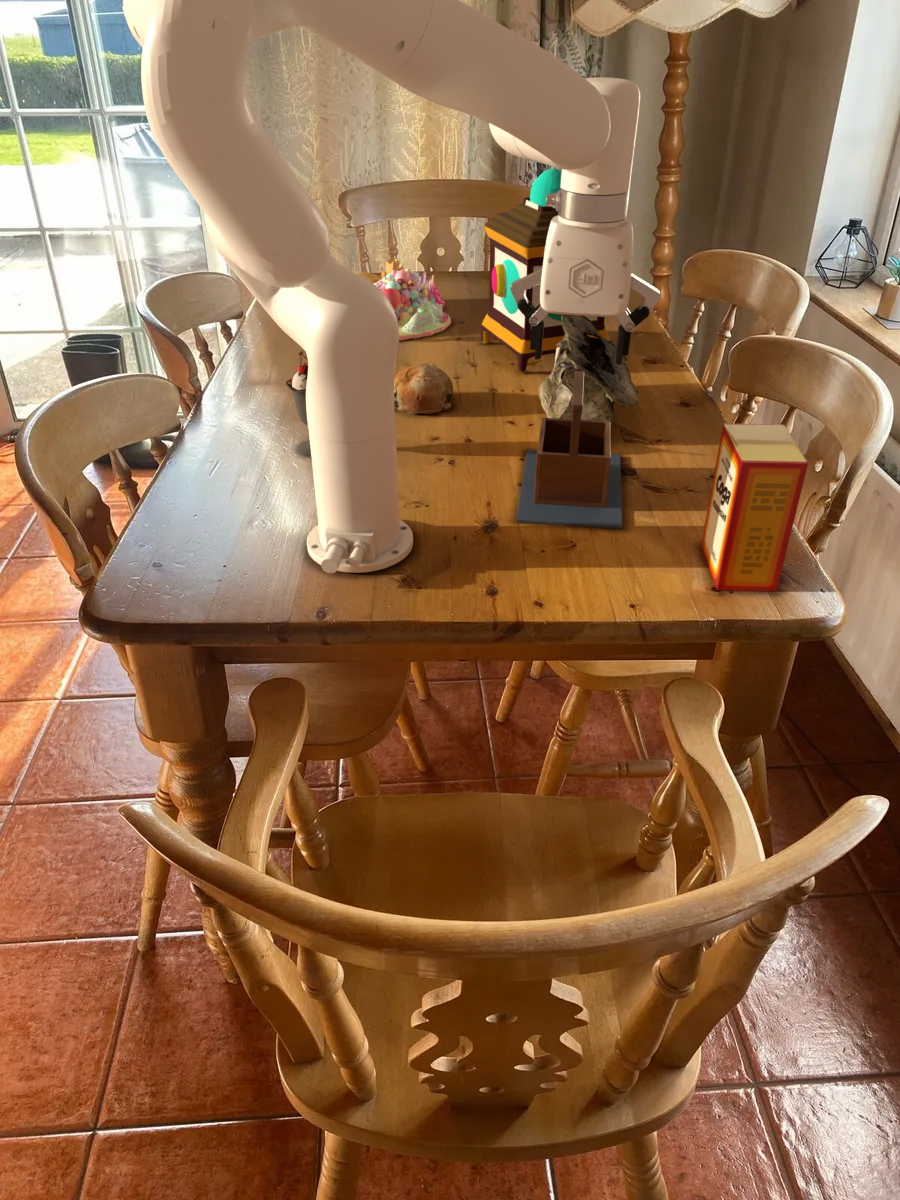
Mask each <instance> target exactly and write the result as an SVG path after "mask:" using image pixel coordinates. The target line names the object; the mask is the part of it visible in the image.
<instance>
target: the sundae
mask: <svg viewBox="0 0 900 1200" xmlns="http://www.w3.org/2000/svg"><path fill="white" fill-rule="evenodd" d="M298 355H299V366H297V368H296V369H297V372H296V373H295V374H294V375H293V377H292V378H290V379H288V380H285V385H286V386H287V388H288V389H289V390H290V391H291V392H292V395H293V399H294V403H295V408H296V411H297V415H298V417H299V420H300V421H301V422H302V423H303V424H304V425H305V426H307V427H308V422H307V411H306V386H307V377H308V358H307V356H305V354H304V352H303V350H301V351H300V352H298ZM302 357H304V359H306V361H305V362H303V363H302V361H303V359H302ZM298 450H299V452H300V453H301V454H302V455H304V456H307V457H311V447H310V441H307V442H304V443H303V444H301V445H300V446H299V449H298Z"/></svg>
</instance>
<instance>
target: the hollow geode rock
mask: <svg viewBox="0 0 900 1200" xmlns="http://www.w3.org/2000/svg"><path fill="white" fill-rule="evenodd" d="M561 317H562V318H561V319H562V322H561V323H562V326H563V329H564V332H565V333H564V335H565V336H564V337H563V340H562V341H560V342H559V343H558V344H557V345H556V346H557V348H556V353H555V356H554V357H555V358H554V364H553V369H552V371H551V373H550V374H549V376H547V377H546V378H543V379H542V381H541V384H540V385H539V387H538V391H537V393H538V397H539V401H540V406H541V407H542V410H543V411H544V412H545V415H546V418H559V419H572V405H573V391H574V377H575V371H582V372H584V389H583V408H582V415H581V420H597V421H610V423H612V422H613V420H614V418H615V408H614V407H615V402H616V403H618V404H619V406H620V408H623V409H625V408H626V407H628V406H629V408H636V407H637V406H639V405H640V400H639V398H638V397H639V391H638V389H636V386H635V384H634V382H633V381H632V375H631V371H630V369H629V367H628V365H627V362H628V356H623V355H622V363H621V365H618V364H617V363H615V352H616V344H615V343H614V341H612V340H610V341H609V342H608V340H606V339H605V338H603V337H602V335H600V334H599V333H598V330H597V329H596V328H595V324H594V323H593V321H590V320H589V319H588V318H587V317H585V316H583V315H565V314H563V315H562V316H561ZM587 335H591V336H595V337H597V338H594V337H589V336H587Z"/></svg>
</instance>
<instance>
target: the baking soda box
mask: <svg viewBox="0 0 900 1200" xmlns="http://www.w3.org/2000/svg"><path fill="white" fill-rule="evenodd" d="M808 465H809V462H808V461H807V459H806V458H805V456H804V455H803V453H802V451H801V450H800V448H799V447H798V445H797V443H796V441H795V440H794V439H793V437H792V435H791V434H790V432H789V431H788V429H787V427H786V425H785V424H784V423H781V424H780V423H722V429H721V435H720V440H719V445H718V451H717V456H716V462H715V466H714V467H715V468H714V472H713V478H712V479H713V480H712V482H711V488H710V494H709V499H708V504H707V505H708V506H707V511H706V516H705V523H704V527H703V533H702V537H701V538H702V539H701V544H700V546H701V549H702V552H703V555H704V557H705V560H706V564H707V566H708V569H709V572H710V574H711V577H712V580H713V584H714V586H715V588H716V591H734V592H737V591H738V592H777V591H778V587H779V584H780V579H781V577H782V576H781V575H782V572H783V567H784V563H785V559H786V555H787V552H788V547H789V544H790V539H791V535H792V530H793V526H794V523H795V519H796V514H797V512H798V507H799V502H800V498H801V494H802V490H803V486H804V483H805V478H806V474H807V470H808Z"/></svg>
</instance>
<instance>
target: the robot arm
mask: <svg viewBox="0 0 900 1200" xmlns="http://www.w3.org/2000/svg"><path fill="white" fill-rule="evenodd" d="M122 5H123V14H124V18H125V21H126V24H127V26H128V28H129V31H130V33H131V35H132V36H133V38H134V39H135V41H136V42H137V44H138V45H139V46H140V47H141V48H142V52H141V60H140V61H141V62H140V63H141V64H140V78H141V79H140V80H141V92H142V100H143V107H144V111H145V116H146V118H147V121H148V125H149V129H150V131H151V134H152V136H153V138H154V140H155V143H156V144H157V146H158V148H159V150H160V151H161V153H162V155H163V157H164V158H165V160H166V161H167V162H168V164H169V166H170V167H171V168H172V170H173V171H174V172H175V174H176V175H177V177H178V178H179V179H180V181H181V182H182V183H183V185H184V186H185V188H186V189H187V190H188V191H189V193H190V194H191V196H192V198H193V199H194V200H195V201H196V204H198V205H199V207H200V208H201V210H202V211H203V212H204V222H205V227H206V231H207V234H208V236H209V238H210V240H211V243H212V244H213V246H214V247H215V249H216V250H217V252H218V253H219V255H220V256H221V257H222V259H223V260H224V261H225V263H226V264H227V265H228V267H230V269H231V270H232V271H233V273H234V274H235V275H236V276H237V277H238V278H239V280H240V281H241V282H242V284H243V285H244V286H245V287H246V289H247V290H248V291H249V293H250V294H251V295H252V296H253V297H254V298H255V299H256V301H257V302H258V303H259V304H260V305H261V307H262V308H263V309H264V310H265V312H266V313H267V314H268V315H269V316H270V318H271V319H272V321H274V322H275V324H276V325H277V326H278V327H279V328H280V329H281V330H282V331H283V332H284V333H285V334H286V335H287V336H288V337H289V338H290V339H292V340H293V341H294V342H295V343H296V344H298V345H299V347H300V348H302V349H303V350H304V351H305V353H306V358H307V359H308V377H307V386H306V411H307V422H308V426H307V429H308V436H309V442H310V447H311V456H310V457H311V466H312V476H313V487H314V495H315V505H316V506H315V507H316V515H317V524H316V525H315V526H314V527H313V528H312V529H311V530H310V531H309V533H308V535H307V537H306V549H307V552H308V555H309V557H310V558H311V559H312V560H313V561H314V562H316V563H317V564H318V565H320V568H321V569H322V570H323V572H325V573H326V574H335V573H336V572H341V573H346V574H347V573H349V574H350V573H351V574H361V573H362V574H363V573H372V572H377V571H382V570H384V569H385V570H386V569H387V568H390V567H393V566H394V565H397V564H399V563H400V562H401V561H403V560H404V559H405V558H407V556H408V555H410V553H411V552H412V550H413V545H414V535H413V530H412V529H411V527H410V526H409V525H408V524H407V522H405V521H403V520H402V519H400V503H399V481H398V456H397V433H396V432H397V431H396V430H397V429H396V416H395V414H396V413H395V407H394V378H395V376H396V364H397V359H398V350H399V345H400V344H399V343H400V340H399V327H398V321H397V317H396V314H395V311H394V309H393V307H392V305H391V303H390V301H389V300H388V298H387V297H386V296H385V294H384V293H383V292H382V291H381V290H380V289H379V288H378V287H377V286H375V285H374V284H373V283H372V282H370V281H369V280H367V279H365V278H364V277H362V276H360V275H359V274H357V273H355V272H356V271H354V270H352V269H350V268H348V267H346V266H345V265H343V264H341V263H340V262H339V261H338V260H337V259H336V257H335V256H334V255H333V253H332V252H331V238H330V231H329V229H328V227H329V226H328V225H327V223H326V220H325V217H324V215H323V213H322V211H321V210H320V208H319V206H318V205H317V204H316V202H315V201H314V199H313V198H312V197H311V196H310V195H309V193H308V191H306V189H305V188H304V187H303V186H302V184H301V183H300V181H299V180H298V178H297V177H296V176H295V174H294V173H293V172H292V170H291V169H290V167H289V166H288V164H287V163H286V162H285V160H284V159H283V157H282V156H281V155H280V153H279V152H278V150H277V149H276V148H275V145H273V143H272V141H271V140H270V137H268V135H267V133H266V131H265V130H264V128H263V126H262V125H261V123H260V121H259V120H258V119H257V116H256V115H255V112H254V110H253V108H252V106H251V103H250V100H249V97H248V91H247V81H246V79H247V77H246V76H247V65H248V59H249V55H250V51H251V48H252V44H253V42H255V41H257V40H261V39H263V38H265V37H268V36H272V35H274V34H276V33H279V32H281V31H284V30H287V29H290V28H293V27H302V28H306V29H309V30H310V31H312V32H314V33H316V34H317V35H319V36H320V37H322V38H324V40H327V41H329V42H330V43H332V44H333V45H335V46H336V47H338V48H340V49H341V50H343V51H345V52H347V53H348V54H350V55H351V56H353V57H355V58H356V59H358V60H359V61H361V62H363V63H364V64H366V65H367V66H369V67H370V68H372V69H374V70H375V71H377V72H379V73H380V74H381V75H383V77H384V76H385V77H386V78H387V79H389V80H391V81H392V82H394V83H396V84H397V85H399V86H400V87H402V88H403V89H405V90H406V91H407V92H409V93H412V94H413V95H416V96H418V97H420V98H422V99H424V100H427V101H429V102H431V103H433V104H436V105H439V106H442V107H445V108H448V109H452V110H454V111H458V112H461V113H464V114H467V115H469V116H472V117H474V118H477V119H478V120H479V119H480V120H481V121H484V122H486V123H488V126H489V127H488V128H489V130H490V133H491V135H492V138H493V139H494V141H495V142H496V143H497V145H498V146H499V147H500V148H501V149H502V150H504V151H505V152H507V153H508V154H510V155H511V156H515V157H517V158H520V159H524V160H528V161H531V162H535V163H540V164H542V165H543V164H544V165H547V166H550V167H552V168H555V169H558V170H561V172H562V174H561V189H560V190H558V192H557V193H554V194H547V199H546V207H553V208H556V211H558V216H555V217H553V219H552V220H551V223H550V227H549V230H548V235H547V240H546V246H545V252H544V260H543V268H542V269H540V270H538V271H536V272H533V273H531V274H529V275H527V276H525V277H522V278H520V279H518V280H516V281H514V282H512V284H511V286H510V290H511V293H512V295H513V297H514V300H515V302H516V304H517V306H518V309H519V310H520V311H521V313H522V314H523V315H524V316H525V317H526V318H527V319H528V321H529V323H530V325H532V326H531V341H530V350H535V356H534V359H535V360H540V359H542V355H541V354H542V345H543V332H544V321H543V319H544V318H545V317H546V316H547V315H548V314H549V313H555V314H566V315H583V316H600V317H605V318H614V317H615V318H616V319H617V320H618V322H619V324H620V325H618V329H617V336H616V343H615V346H616V352H615V363H617V364H618V365H621V363H622V355H623V356H626V357H628V356H629V352H630V345H631V344H630V343H631V336H632V332H633V331H634V330H635V328H636V327H637V326H639V324H641V323H643V321H644V320H646V319H647V318H649V316H650V313H651V312H652V311H653V309H654V308H655V307H656V305H657V303H658V302H659V300H660V299H661V292H660V290H659V289H658V288H656V287H655V286H654V285H651V284H650V283H649V282H647V281H645V280H644V279H642V278H640V277H638V276H637V275H636V274H634V273H633V260H634V228H633V223H632V221H631V220H630V219H628V218H627V216H628V215H627V214H628V207H629V197H630V189H631V180H632V173H633V172H632V171H633V165H634V157H635V148H636V142H637V141H636V139H637V131H638V124H639V123H638V122H639V116H640V115H639V114H640V106H641V90H640V88H639V86H638V85H637V83H636V82H634V81H632V80H630V79H627V78H619V77H601V76H600V77H599V76H598V77H583V76H582V75H581V74H579V73H578V72H577V71H576V70H574V69H573V68H571V67H570V66H569V65H568V64H566V63H565V62H563V61H562V60H561V59H559V58H558V57H557V56H555V55H554V54H553V53H550V52H549V51H548V50H546V49H545V48H543V47H541V46H540V45H538V44H536V43H534V42H533V41H532V40H529V39H528V38H526V37H525V36H522V35H520V34H518V33H517V32H515V31H514V30H512V29H510V28H508V27H506V26H504V25H503V24H500V23H499V22H497V21H496V20H494V19H493V18H491V17H490V16H488V15H487V14H485V13H483V12H481V11H479V10H478V9H476V8H474V7H472V6H471V5H468V4H466V3H465V2H463V1H461V0H122ZM540 283H541V288H540V303H539V304H538V305H537V306H536V307H534V306H533V305H532V303H531V302H530V301H529V300H528V299H527V297H526V295H525V292H524V291H525V290H527V289H529V288H531V287H533V286H535V285H538V284H540ZM631 290H633V291H634V292H636V293H638V295H641V296H643V301H642V303H641V304H640V305H639V306H638V307H636V308H635V309H634V310H633V311H632V312H631V311H630V310H629V308H628V307H629V300H630V295H631Z"/></svg>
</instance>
